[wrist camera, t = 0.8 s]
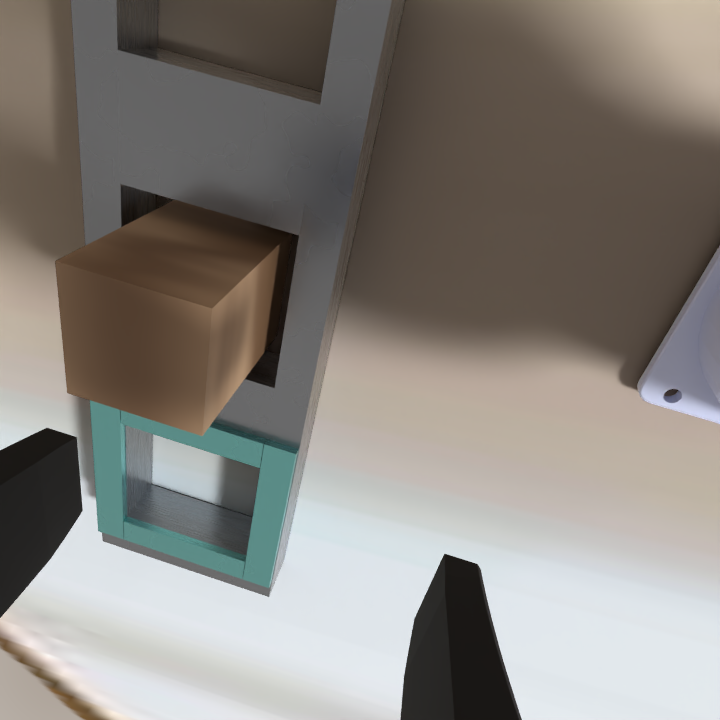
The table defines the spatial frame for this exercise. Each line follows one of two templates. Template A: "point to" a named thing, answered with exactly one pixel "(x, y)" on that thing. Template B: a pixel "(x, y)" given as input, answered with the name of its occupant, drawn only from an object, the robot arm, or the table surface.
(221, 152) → the grey slotted board
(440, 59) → the table surface
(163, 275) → the walnut block
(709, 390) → the robot arm
